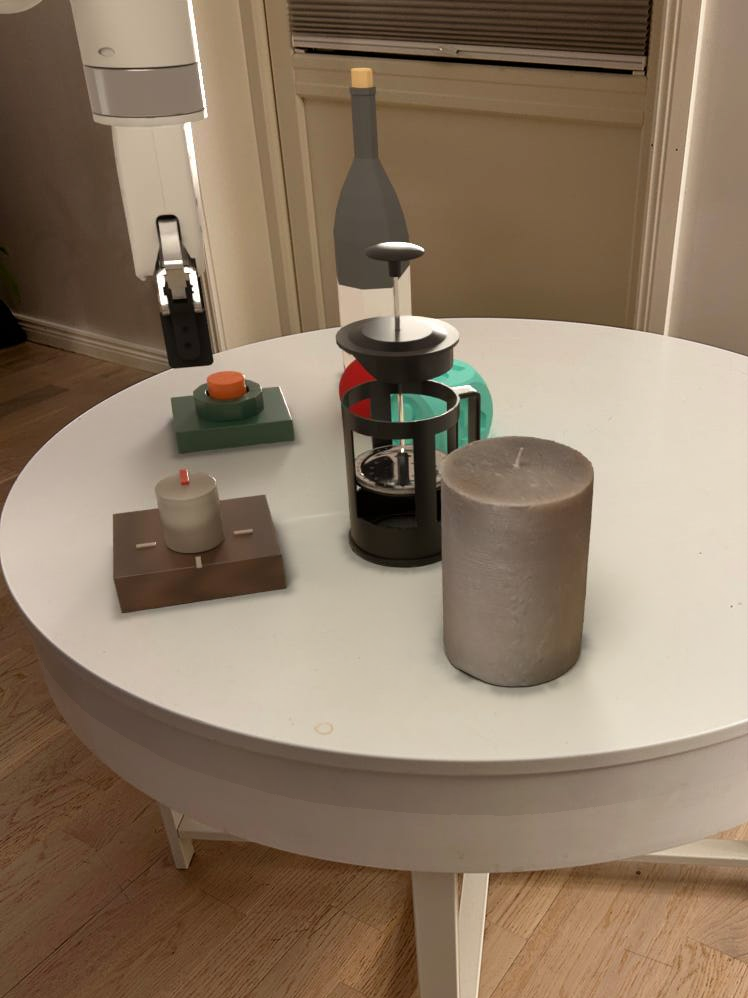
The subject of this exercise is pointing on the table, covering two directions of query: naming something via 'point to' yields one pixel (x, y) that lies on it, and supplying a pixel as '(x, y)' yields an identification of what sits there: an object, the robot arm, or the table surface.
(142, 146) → the robot arm
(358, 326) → the french press
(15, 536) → the table surface
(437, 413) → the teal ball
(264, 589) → the dial panel
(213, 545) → the dial knob
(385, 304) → the wine bottle
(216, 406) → the button box
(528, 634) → the pillar candle
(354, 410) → the christmas ornament
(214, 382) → the button
